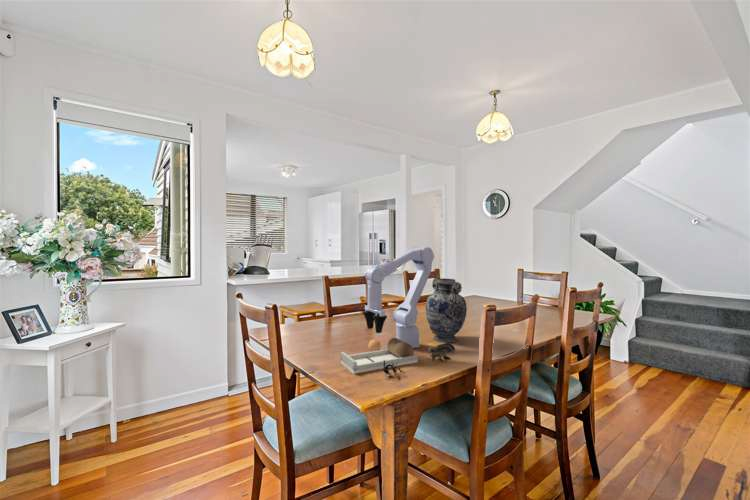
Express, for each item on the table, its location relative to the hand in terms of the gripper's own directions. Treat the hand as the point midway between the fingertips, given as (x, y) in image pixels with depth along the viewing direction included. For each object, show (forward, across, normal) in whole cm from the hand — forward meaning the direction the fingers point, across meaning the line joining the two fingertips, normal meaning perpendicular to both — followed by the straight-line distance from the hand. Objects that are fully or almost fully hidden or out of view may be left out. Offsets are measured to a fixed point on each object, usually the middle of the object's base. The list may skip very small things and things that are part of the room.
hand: (374, 330), depth 145 cm
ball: (+6, 0, 0) cm, 6 cm away
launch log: (+9, +12, +5) cm, 16 cm away
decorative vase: (+9, -2, +38) cm, 39 cm away
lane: (+9, +12, -4) cm, 15 cm away
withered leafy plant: (+9, +20, +19) cm, 29 cm away
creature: (+9, +26, -5) cm, 28 cm away
